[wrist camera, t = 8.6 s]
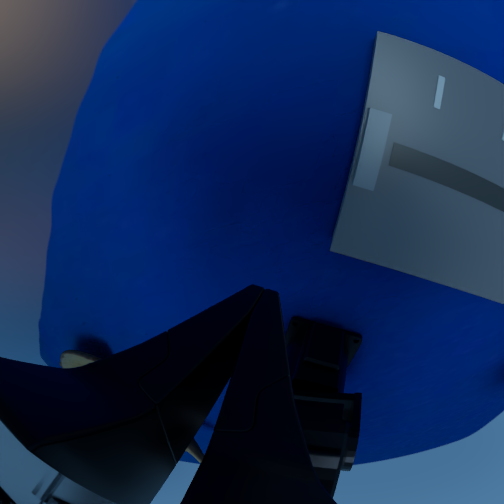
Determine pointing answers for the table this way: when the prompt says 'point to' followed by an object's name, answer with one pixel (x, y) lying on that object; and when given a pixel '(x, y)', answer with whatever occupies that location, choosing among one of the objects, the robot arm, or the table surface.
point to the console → (428, 171)
